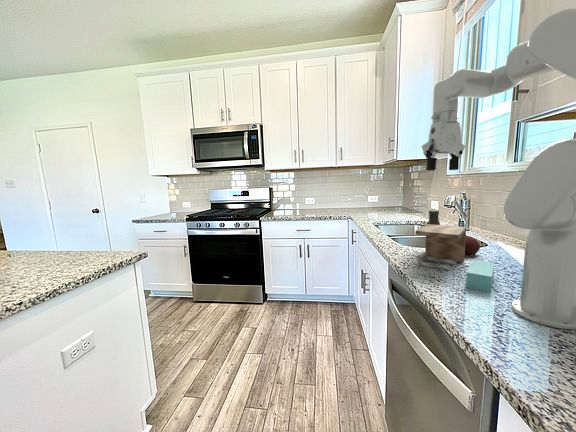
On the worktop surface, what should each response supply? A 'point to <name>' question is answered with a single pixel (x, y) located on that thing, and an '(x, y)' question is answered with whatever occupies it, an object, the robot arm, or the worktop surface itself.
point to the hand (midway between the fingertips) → (442, 170)
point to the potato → (471, 246)
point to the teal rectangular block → (480, 276)
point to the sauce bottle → (433, 219)
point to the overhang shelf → (442, 245)
